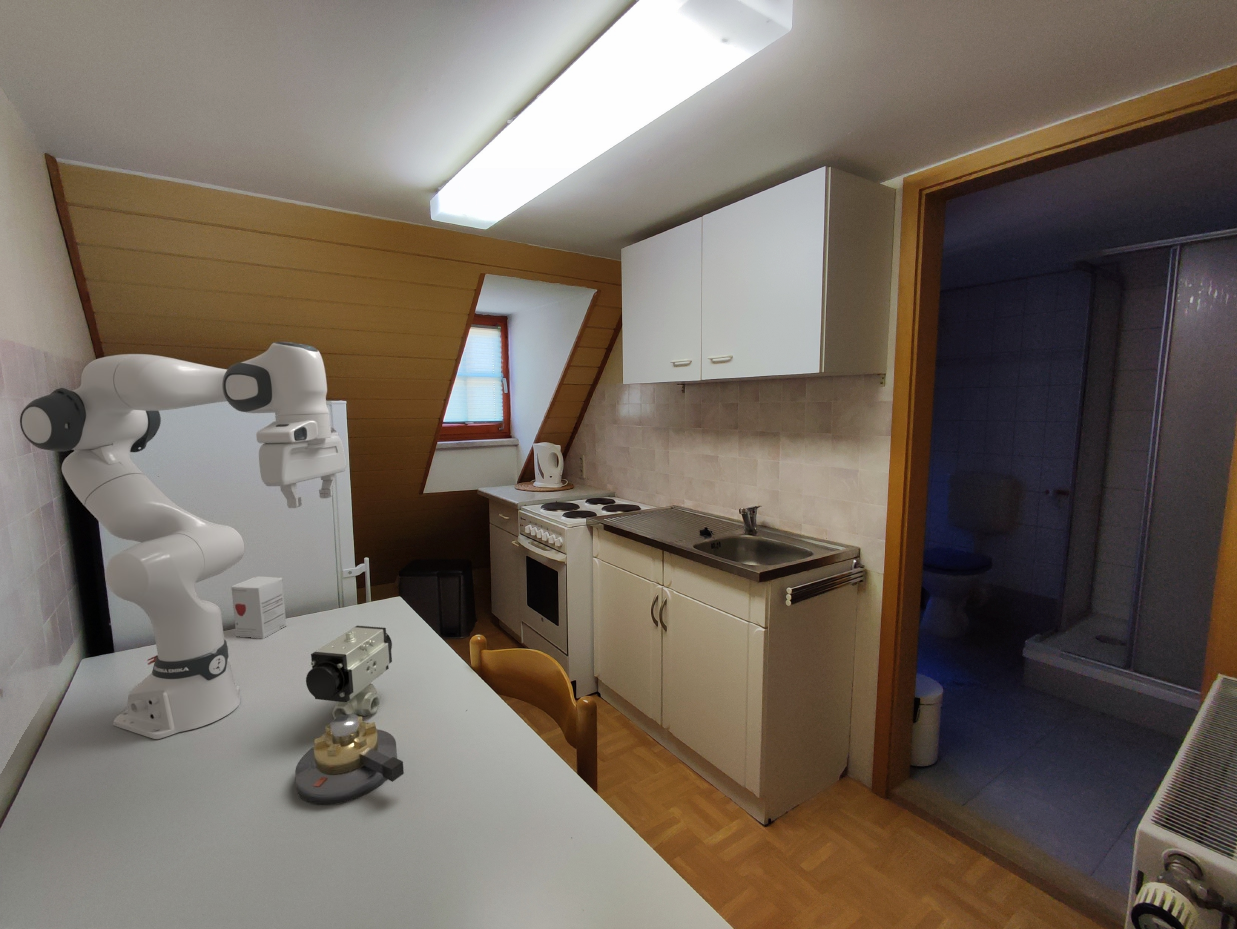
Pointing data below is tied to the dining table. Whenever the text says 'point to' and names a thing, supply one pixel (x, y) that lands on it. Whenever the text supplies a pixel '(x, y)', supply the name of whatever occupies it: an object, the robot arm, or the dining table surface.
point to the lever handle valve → (355, 754)
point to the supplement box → (258, 607)
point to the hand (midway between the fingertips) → (311, 502)
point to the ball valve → (351, 670)
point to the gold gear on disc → (347, 784)
